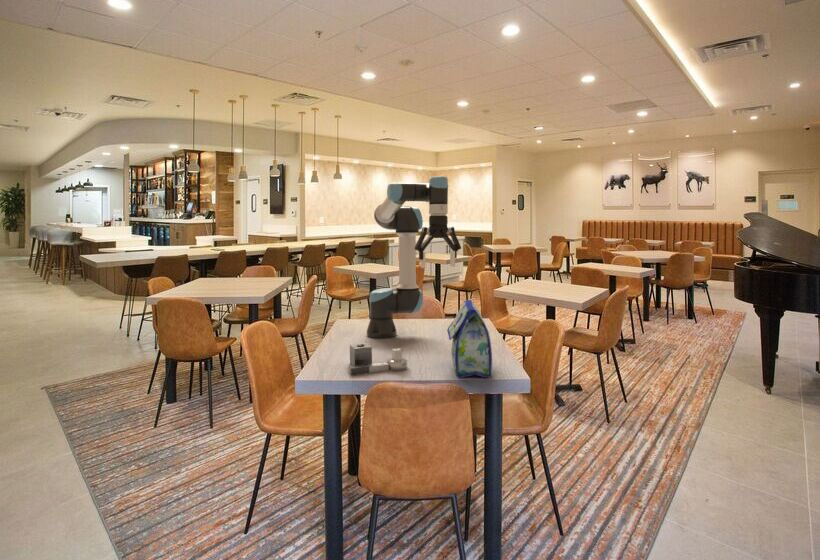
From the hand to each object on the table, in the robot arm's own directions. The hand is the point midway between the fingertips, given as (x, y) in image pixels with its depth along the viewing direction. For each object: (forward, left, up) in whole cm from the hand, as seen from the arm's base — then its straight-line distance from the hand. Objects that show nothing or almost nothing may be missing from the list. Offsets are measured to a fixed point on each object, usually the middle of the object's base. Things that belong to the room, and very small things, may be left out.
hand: (438, 267), depth 197 cm
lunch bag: (+20, +4, -39) cm, 44 cm away
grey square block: (-2, -33, -38) cm, 51 cm away
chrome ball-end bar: (+7, -29, -38) cm, 48 cm away
